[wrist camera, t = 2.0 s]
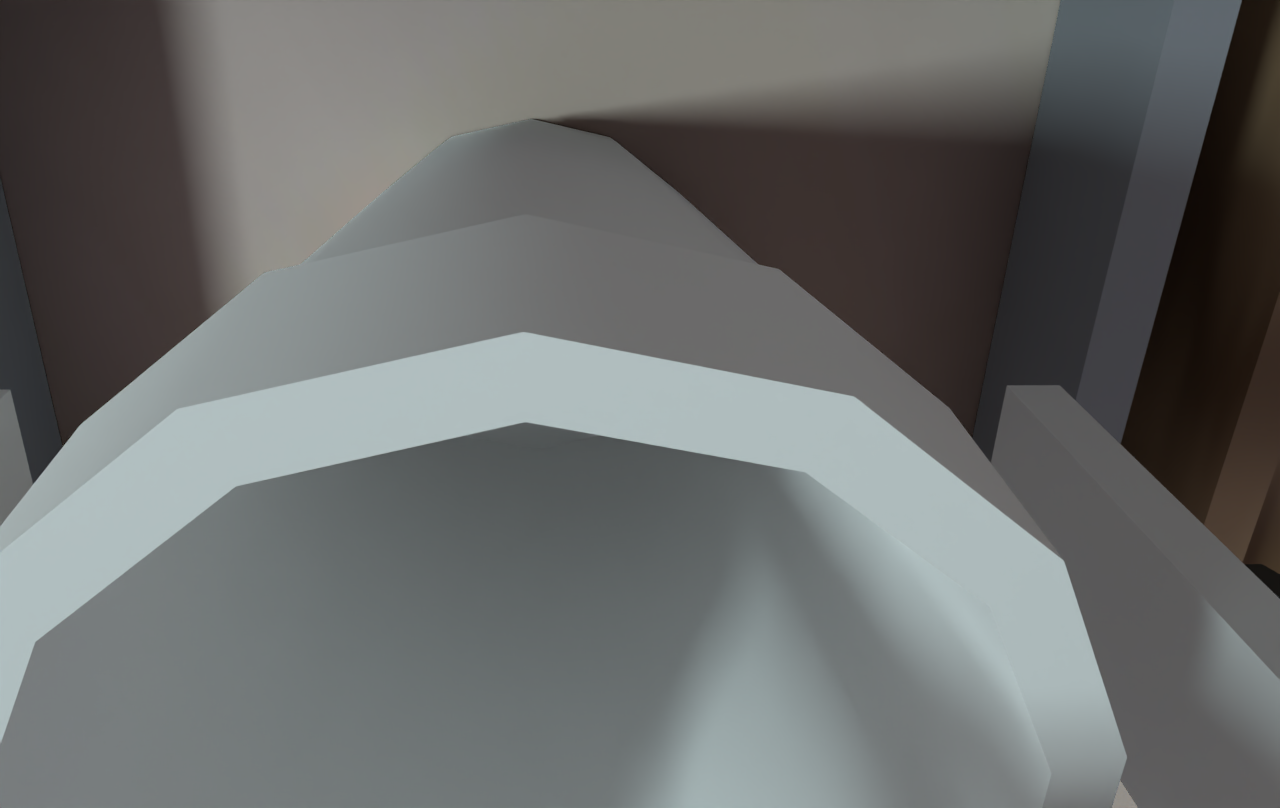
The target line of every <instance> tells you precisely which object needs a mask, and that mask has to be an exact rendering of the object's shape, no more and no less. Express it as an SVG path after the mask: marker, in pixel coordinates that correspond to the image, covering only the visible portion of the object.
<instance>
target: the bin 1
mask: <svg viewBox="0 0 1280 808" xmlns="http://www.w3.org/2000/svg"><path fill="white" fill-rule="evenodd" d="M1241 2H1242V0H1061V2H1060V7H1059V12H1058V17H1057V22H1056V27H1055V31H1054V36H1053V41H1052V46H1051V51H1050V56H1049V61H1048V66H1047V71H1046V76H1045V81H1044V86H1043V91H1042V96H1041V101H1040V106H1039V111H1038V116H1037V121H1036V125H1035V130H1034V135H1033V140H1032V145H1031V150H1030V155H1029V160H1028V165H1027V170H1026V175H1025V180H1024V185H1023V190H1022V195H1021V200H1020V205H1019V210H1018V214H1017V219H1016V224H1015V229H1014V234H1013V239H1012V244H1011V249H1010V254H1009V259H1008V264H1007V269H1006V274H1005V279H1004V284H1003V289H1002V294H1001V299H1000V303H999V308H998V313H997V318H996V323H995V328H994V333H993V338H992V343H991V348H990V353H989V358H988V363H987V368H986V373H985V378H984V383H983V388H982V393H981V397H980V402H979V407H978V412H977V417H976V422H975V427H974V432H973V437H972V439H973V440H974V441H975V443H976V444H977V445H978V447H979V448H980V449H981V451H982V452H983V453H984V455H985V456H986V457H987V459H988V460H989V461H990V463H991V460H992V455H993V450H994V445H995V440H996V435H997V430H998V426H999V421H1000V416H1001V411H1002V406H1003V401H1004V397H1005V392H1006V387H1007V385H1060V386H1061V387H1062V388H1063V389H1064V390H1065V391H1066V392H1067V393H1068V394H1069V395H1070V396H1071V397H1072V398H1073V399H1074V400H1075V401H1076V402H1077V403H1079V404H1080V405H1081V406H1082V407H1083V408H1084V409H1085V410H1086V411H1087V412H1088V413H1089V414H1090V415H1091V416H1092V417H1093V418H1094V419H1095V420H1096V421H1097V422H1098V423H1099V424H1100V425H1101V426H1102V427H1103V428H1104V429H1105V430H1106V431H1107V432H1108V433H1109V434H1110V435H1111V436H1113V437H1114V438H1115V439H1116V440H1117V441H1118V442H1119V443H1120V444H1121V441H1122V437H1123V433H1124V430H1125V426H1126V422H1127V419H1128V415H1129V411H1130V408H1131V404H1132V400H1133V397H1134V393H1135V390H1136V386H1137V382H1138V379H1139V375H1140V371H1141V368H1142V364H1143V360H1144V357H1145V353H1146V349H1147V346H1148V342H1149V338H1150V335H1151V331H1152V327H1153V324H1154V320H1155V316H1156V313H1157V309H1158V305H1159V302H1160V298H1161V294H1162V291H1163V287H1164V283H1165V280H1166V276H1167V272H1168V269H1169V265H1170V261H1171V258H1172V254H1173V250H1174V247H1175V243H1176V240H1177V236H1178V232H1179V229H1180V225H1181V221H1182V218H1183V214H1184V210H1185V207H1186V203H1187V199H1188V196H1189V192H1190V188H1191V185H1192V181H1193V177H1194V174H1195V170H1196V166H1197V163H1198V159H1199V155H1200V152H1201V148H1202V144H1203V141H1204V137H1205V133H1206V130H1207V126H1208V122H1209V119H1210V115H1211V111H1212V108H1213V104H1214V100H1215V97H1216V93H1217V90H1218V86H1219V82H1220V79H1221V75H1222V71H1223V68H1224V64H1225V60H1226V57H1227V53H1228V49H1229V46H1230V42H1231V38H1232V35H1233V31H1234V27H1235V24H1236V20H1237V16H1238V13H1239V9H1240V5H1241ZM0 390H10V391H11V395H12V399H13V403H14V407H15V411H16V416H17V420H18V424H19V428H20V432H21V436H22V441H23V445H24V449H25V453H26V457H27V461H28V465H29V470H30V474H31V478H32V482H33V484H34V483H35V482H36V480H37V479H38V478H39V476H40V475H41V474H42V473H43V471H44V470H45V469H46V468H47V466H48V465H49V464H50V463H51V461H52V460H53V459H54V457H55V456H56V455H57V454H58V452H59V451H60V450H61V449H62V443H61V439H60V434H59V430H58V426H57V421H56V417H55V413H54V408H53V404H52V400H51V395H50V391H49V387H48V382H47V378H46V374H45V369H44V365H43V361H42V356H41V352H40V348H39V343H38V339H37V335H36V330H35V326H34V321H33V317H32V313H31V308H30V304H29V300H28V295H27V291H26V287H25V282H24V278H23V274H22V269H21V265H20V261H19V256H18V252H17V248H16V243H15V239H14V235H13V230H12V226H11V222H10V217H9V213H8V209H7V204H6V200H5V196H4V191H3V187H2V183H1V178H0Z"/></svg>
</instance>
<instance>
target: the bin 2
mask: <svg viewBox="0 0 1280 808" xmlns="http://www.w3.org/2000/svg"><path fill="white" fill-rule="evenodd" d="M1121 445H1122V446H1123V447H1124V448H1125V449H1126V450H1127V451H1128V452H1129V453H1130V454H1131V455H1132V456H1133V457H1134V458H1135V459H1136V460H1137V461H1138V462H1139V463H1140V464H1141V465H1142V466H1143V467H1144V468H1146V469H1147V470H1148V471H1149V472H1150V473H1151V474H1152V475H1153V476H1154V477H1155V478H1156V479H1157V480H1158V481H1159V482H1160V483H1161V484H1162V485H1163V486H1164V487H1165V488H1166V489H1167V490H1168V491H1169V492H1170V493H1171V494H1172V495H1173V496H1174V497H1175V498H1176V499H1177V500H1178V501H1180V502H1181V503H1182V504H1183V505H1184V506H1185V507H1186V508H1187V509H1188V510H1189V511H1190V512H1191V513H1192V514H1193V515H1194V516H1195V517H1196V518H1197V519H1198V520H1199V521H1200V522H1201V523H1202V524H1203V525H1204V526H1205V527H1206V528H1207V529H1208V530H1209V531H1210V532H1211V533H1212V534H1214V535H1215V536H1216V537H1217V538H1218V539H1219V540H1220V541H1221V542H1222V543H1223V544H1224V545H1225V546H1226V547H1227V548H1228V549H1229V550H1230V551H1231V552H1232V553H1233V554H1234V555H1235V556H1236V557H1237V558H1238V559H1239V560H1240V561H1241V562H1242V563H1243V564H1263V565H1265V566H1266V567H1268V568H1270V569H1271V570H1273V571H1275V572H1277V573H1278V574H1280V0H1242V2H1241V5H1240V9H1239V13H1238V16H1237V20H1236V24H1235V27H1234V31H1233V35H1232V38H1231V42H1230V46H1229V49H1228V53H1227V57H1226V60H1225V64H1224V68H1223V71H1222V75H1221V79H1220V82H1219V86H1218V90H1217V93H1216V97H1215V100H1214V104H1213V108H1212V111H1211V115H1210V119H1209V122H1208V126H1207V130H1206V133H1205V137H1204V141H1203V144H1202V148H1201V152H1200V155H1199V159H1198V163H1197V166H1196V170H1195V174H1194V177H1193V181H1192V185H1191V188H1190V192H1189V196H1188V199H1187V203H1186V207H1185V210H1184V214H1183V218H1182V221H1181V225H1180V229H1179V232H1178V236H1177V240H1176V243H1175V247H1174V250H1173V254H1172V258H1171V261H1170V265H1169V269H1168V272H1167V276H1166V280H1165V283H1164V287H1163V291H1162V294H1161V298H1160V302H1159V305H1158V309H1157V313H1156V316H1155V320H1154V324H1153V327H1152V331H1151V335H1150V338H1149V342H1148V346H1147V349H1146V353H1145V357H1144V360H1143V364H1142V368H1141V371H1140V375H1139V379H1138V382H1137V386H1136V390H1135V393H1134V397H1133V400H1132V404H1131V408H1130V411H1129V415H1128V419H1127V422H1126V426H1125V430H1124V433H1123V437H1122V441H1121Z"/></svg>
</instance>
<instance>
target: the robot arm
mask: <svg viewBox="0 0 1280 808" xmlns="http://www.w3.org/2000/svg"><path fill="white" fill-rule="evenodd" d="M991 464H992V465H993V467H994V468H995V469H996V471H997V472H998V473H999V475H1000V476H1001V477H1002V479H1003V480H1004V481H1005V483H1006V484H1007V485H1008V487H1009V488H1010V489H1011V491H1012V492H1013V493H1014V495H1015V496H1016V497H1017V499H1018V500H1019V501H1020V503H1021V504H1022V505H1023V507H1024V508H1025V509H1026V511H1027V512H1028V513H1029V515H1030V516H1031V517H1032V519H1033V520H1034V521H1035V523H1036V524H1037V525H1038V527H1039V528H1040V529H1041V531H1042V532H1043V533H1044V535H1045V536H1046V537H1047V539H1048V540H1049V541H1050V543H1051V544H1052V545H1053V547H1054V548H1055V549H1056V551H1057V552H1058V553H1059V555H1060V556H1061V557H1062V559H1063V560H1064V562H1065V565H1066V568H1067V571H1068V575H1069V578H1070V581H1071V584H1072V587H1073V590H1074V593H1075V596H1076V599H1077V603H1078V606H1079V609H1080V612H1081V615H1082V618H1083V621H1084V624H1085V627H1086V631H1087V634H1088V637H1089V640H1090V643H1091V646H1092V649H1093V652H1094V655H1095V659H1096V662H1097V665H1098V668H1099V671H1100V674H1101V677H1102V680H1103V683H1104V687H1105V690H1106V693H1107V696H1108V699H1109V702H1110V705H1111V708H1112V711H1113V715H1114V718H1115V721H1116V724H1117V727H1118V730H1119V733H1120V736H1121V740H1122V743H1123V746H1124V749H1125V752H1126V755H1127V759H1126V763H1125V766H1124V769H1123V772H1122V776H1121V779H1120V780H1121V782H1122V783H1123V785H1124V786H1125V788H1126V790H1127V791H1128V793H1129V794H1130V796H1131V797H1132V799H1133V800H1134V802H1135V803H1136V805H1137V807H1138V808H1280V574H1278V573H1277V572H1275V571H1273V570H1271V569H1270V568H1268V567H1266V566H1265V565H1263V564H1243V563H1242V562H1241V561H1240V560H1239V559H1238V558H1237V557H1236V556H1235V555H1234V554H1233V553H1232V552H1231V551H1230V550H1229V549H1228V548H1227V547H1226V546H1225V545H1224V544H1223V543H1222V542H1221V541H1220V540H1219V539H1218V538H1217V537H1216V536H1215V535H1214V534H1212V533H1211V532H1210V531H1209V530H1208V529H1207V528H1206V527H1205V526H1204V525H1203V524H1202V523H1201V522H1200V521H1199V520H1198V519H1197V518H1196V517H1195V516H1194V515H1193V514H1192V513H1191V512H1190V511H1189V510H1188V509H1187V508H1186V507H1185V506H1184V505H1183V504H1182V503H1181V502H1180V501H1178V500H1177V499H1176V498H1175V497H1174V496H1173V495H1172V494H1171V493H1170V492H1169V491H1168V490H1167V489H1166V488H1165V487H1164V486H1163V485H1162V484H1161V483H1160V482H1159V481H1158V480H1157V479H1156V478H1155V477H1154V476H1153V475H1152V474H1151V473H1150V472H1149V471H1148V470H1147V469H1146V468H1144V467H1143V466H1142V465H1141V464H1140V463H1139V462H1138V461H1137V460H1136V459H1135V458H1134V457H1133V456H1132V455H1131V454H1130V453H1129V452H1128V451H1127V450H1126V449H1125V448H1124V447H1123V446H1122V445H1121V444H1120V443H1119V442H1118V441H1117V440H1116V439H1115V438H1114V437H1113V436H1111V435H1110V434H1109V433H1108V432H1107V431H1106V430H1105V429H1104V428H1103V427H1102V426H1101V425H1100V424H1099V423H1098V422H1097V421H1096V420H1095V419H1094V418H1093V417H1092V416H1091V415H1090V414H1089V413H1088V412H1087V411H1086V410H1085V409H1084V408H1083V407H1082V406H1081V405H1080V404H1079V403H1077V402H1076V401H1075V400H1074V399H1073V398H1072V397H1071V396H1070V395H1069V394H1068V393H1067V392H1066V391H1065V390H1064V389H1063V388H1062V387H1061V386H1060V385H1007V387H1006V392H1005V397H1004V401H1003V406H1002V411H1001V416H1000V421H999V426H998V430H997V435H996V440H995V445H994V450H993V455H992V460H991ZM32 485H33V482H32V478H31V474H30V470H29V465H28V461H27V457H26V453H25V449H24V445H23V441H22V436H21V432H20V428H19V424H18V420H17V416H16V411H15V407H14V403H13V399H12V395H11V391H10V390H0V526H1V525H2V523H3V522H4V521H5V520H6V518H7V517H8V516H9V515H10V513H11V512H12V511H13V509H14V508H15V507H16V506H17V504H18V503H19V502H20V501H21V499H22V498H23V497H24V496H25V494H26V493H27V492H28V490H29V489H30V488H31V487H32Z"/></svg>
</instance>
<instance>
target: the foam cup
mask: <svg viewBox="0 0 1280 808" xmlns="http://www.w3.org/2000/svg"><path fill="white" fill-rule="evenodd" d="M1126 759H1127V755H1126V752H1125V749H1124V746H1123V743H1122V740H1121V736H1120V733H1119V730H1118V727H1117V724H1116V721H1115V718H1114V715H1113V711H1112V708H1111V705H1110V702H1109V699H1108V696H1107V693H1106V690H1105V687H1104V683H1103V680H1102V677H1101V674H1100V671H1099V668H1098V665H1097V662H1096V659H1095V655H1094V652H1093V649H1092V646H1091V643H1090V640H1089V637H1088V634H1087V631H1086V627H1085V624H1084V621H1083V618H1082V615H1081V612H1080V609H1079V606H1078V603H1077V599H1076V596H1075V593H1074V590H1073V587H1072V584H1071V581H1070V578H1069V575H1068V571H1067V568H1066V565H1065V562H1064V560H1063V559H1062V557H1061V556H1060V555H1059V553H1058V552H1057V551H1056V549H1055V548H1054V547H1053V545H1052V544H1051V543H1050V541H1049V540H1048V539H1047V537H1046V536H1045V535H1044V533H1043V532H1042V531H1041V529H1040V528H1039V527H1038V525H1037V524H1036V523H1035V521H1034V520H1033V519H1032V517H1031V516H1030V515H1029V513H1028V512H1027V511H1026V509H1025V508H1024V507H1023V505H1022V504H1021V503H1020V501H1019V500H1018V499H1017V497H1016V496H1015V495H1014V493H1013V492H1012V491H1011V489H1010V488H1009V487H1008V485H1007V484H1006V483H1005V481H1004V480H1003V479H1002V477H1001V476H1000V475H999V473H998V472H997V471H996V469H995V468H994V467H993V465H992V464H991V463H990V461H989V460H988V459H987V457H986V456H985V455H984V453H983V452H982V451H981V449H980V448H979V447H978V445H977V444H976V443H975V441H974V440H973V439H972V437H971V436H970V435H969V433H968V432H967V431H966V429H965V428H964V427H963V425H962V424H961V423H960V421H959V420H958V419H957V417H956V416H955V415H954V413H953V412H952V411H951V409H950V408H949V407H948V406H946V405H945V404H944V403H943V402H942V401H940V400H939V399H938V398H937V397H935V396H934V395H933V394H932V393H931V392H929V391H928V390H927V389H926V388H924V387H923V386H922V385H921V384H919V383H918V382H917V381H916V380H915V379H913V378H912V377H911V376H910V375H908V374H907V373H906V372H905V371H904V370H902V369H901V368H900V367H899V366H897V365H896V364H895V363H894V362H892V361H891V360H890V359H889V358H888V357H886V356H885V355H884V354H883V353H881V352H880V351H879V350H878V349H877V348H875V347H874V346H873V345H872V344H870V343H869V342H868V341H867V340H865V339H864V338H863V337H862V336H861V335H859V334H858V333H857V332H856V331H854V330H853V329H852V328H851V327H850V326H848V325H847V324H846V323H845V322H843V321H842V320H841V319H840V318H838V317H837V316H836V315H835V314H834V313H832V312H831V311H830V310H829V309H827V308H826V307H825V306H824V305H823V304H821V303H820V302H819V301H818V300H816V299H815V298H814V297H813V296H811V295H810V294H809V293H808V292H807V291H805V290H804V289H803V288H802V287H800V286H799V285H798V284H797V283H796V282H794V281H793V280H792V279H791V278H789V277H788V276H787V275H786V274H785V273H783V272H782V271H781V270H780V269H777V268H772V267H768V266H763V265H758V264H757V263H756V262H755V261H754V260H753V259H752V258H751V257H750V256H748V255H747V254H746V253H745V252H744V251H743V250H742V249H741V248H740V247H738V246H737V245H736V244H735V243H734V242H733V241H732V240H731V239H730V238H729V237H727V236H726V235H725V234H724V233H723V232H722V231H721V230H720V229H719V228H717V227H716V226H715V225H714V224H713V223H712V222H711V221H710V220H709V219H708V218H706V217H705V216H704V215H703V214H702V213H701V212H700V211H699V210H698V209H697V208H695V207H694V206H693V205H692V204H691V203H690V202H689V201H688V200H687V199H685V198H684V197H683V196H682V195H681V194H680V193H679V192H677V191H676V190H675V189H674V188H673V187H671V186H670V185H669V184H668V183H666V182H665V181H664V180H663V179H661V178H660V177H659V176H658V175H657V174H655V173H654V172H653V171H652V170H650V169H649V168H648V167H647V166H646V165H644V164H643V163H642V162H641V161H639V160H638V159H637V158H636V157H634V156H633V155H632V154H631V153H630V152H628V151H627V150H626V149H625V148H623V147H622V146H621V145H620V144H618V143H617V142H616V141H614V140H613V139H612V138H611V137H607V136H602V135H598V134H594V133H590V132H585V131H581V130H577V129H572V128H568V127H564V126H560V125H555V124H551V123H547V122H543V121H538V120H534V119H528V120H523V121H519V122H515V123H510V124H506V125H501V126H497V127H492V128H488V129H484V130H479V131H475V132H470V133H466V134H461V135H457V136H453V137H450V138H449V139H448V140H446V141H445V142H443V143H442V144H441V145H440V146H439V147H437V148H436V149H435V150H434V151H432V152H431V153H430V154H429V155H428V156H426V157H425V158H424V159H423V160H422V161H420V162H419V163H418V164H417V165H415V166H414V167H413V168H412V169H411V170H409V171H408V172H407V173H406V174H405V175H403V176H402V177H401V178H400V179H398V180H397V181H396V182H395V183H394V184H392V185H391V186H390V187H389V188H388V189H386V190H385V191H384V192H383V193H381V194H380V195H379V196H378V197H377V198H376V199H375V200H373V201H372V202H371V203H370V204H369V205H368V206H367V207H365V208H364V209H363V210H362V211H361V212H360V213H359V214H357V215H356V216H355V217H354V218H353V219H352V220H351V221H349V222H348V223H347V224H346V225H345V226H344V227H343V228H341V229H340V230H339V231H338V232H337V233H336V234H335V235H333V236H332V237H331V238H330V239H329V240H328V241H327V242H325V243H324V244H323V245H322V246H321V247H320V248H319V249H317V250H316V251H315V252H314V253H313V254H312V255H311V256H309V257H308V258H307V259H306V260H305V261H304V262H303V263H301V264H300V265H296V266H292V267H287V268H283V269H279V270H274V271H270V272H265V273H263V274H262V275H261V276H259V277H258V278H257V279H256V280H255V281H253V282H252V283H251V284H250V285H248V286H247V287H246V288H245V289H244V290H242V291H241V292H240V293H239V294H238V295H236V296H235V297H234V298H233V299H232V300H230V301H229V302H228V303H227V304H226V305H224V306H223V307H222V308H221V309H219V310H218V311H217V312H216V313H215V314H213V315H212V316H211V317H210V318H209V319H207V320H206V321H205V322H204V323H203V324H201V325H200V326H199V327H198V328H197V329H195V330H194V331H193V332H192V333H190V334H189V335H188V336H187V337H186V338H184V339H183V340H182V341H181V342H180V343H178V344H177V345H176V346H175V347H174V348H172V349H171V350H170V351H169V352H168V353H166V354H165V355H164V356H163V357H162V358H160V359H159V360H158V361H157V362H155V363H154V364H153V365H152V366H151V367H149V368H148V369H147V370H146V371H145V372H143V373H142V374H141V375H140V376H139V377H137V378H136V379H135V380H134V381H133V382H131V383H130V384H129V385H128V386H126V387H125V388H124V389H123V390H122V391H120V392H119V393H118V394H117V395H116V396H114V397H113V398H112V399H111V400H110V401H108V402H107V403H106V404H105V405H104V406H102V407H101V408H100V409H99V410H97V411H96V412H95V413H94V414H93V415H91V416H90V417H89V418H88V419H87V420H85V421H84V422H83V423H82V424H81V425H80V426H79V427H78V428H77V430H76V431H75V432H74V433H73V435H72V436H71V437H70V438H69V440H68V441H67V442H66V444H65V445H64V446H63V447H62V449H61V450H60V451H59V452H58V454H57V455H56V456H55V457H54V459H53V460H52V461H51V463H50V464H49V465H48V466H47V468H46V469H45V470H44V471H43V473H42V474H41V475H40V476H39V478H38V479H37V480H36V482H35V483H34V484H33V485H32V487H31V488H30V489H29V490H28V492H27V493H26V494H25V496H24V497H23V498H22V499H21V501H20V502H19V503H18V504H17V506H16V507H15V508H14V509H13V511H12V512H11V513H10V515H9V516H8V517H7V518H6V520H5V521H4V522H3V523H2V525H1V526H0V808H1112V805H1113V801H1114V798H1115V795H1116V792H1117V788H1118V785H1119V782H1120V779H1121V776H1122V772H1123V769H1124V766H1125V763H1126Z"/></svg>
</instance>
